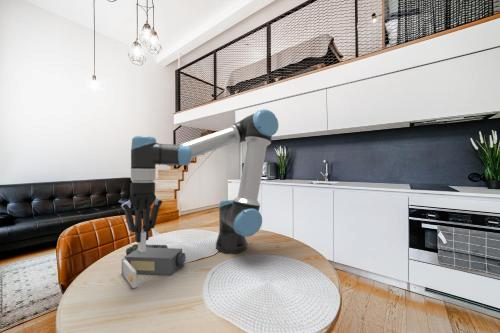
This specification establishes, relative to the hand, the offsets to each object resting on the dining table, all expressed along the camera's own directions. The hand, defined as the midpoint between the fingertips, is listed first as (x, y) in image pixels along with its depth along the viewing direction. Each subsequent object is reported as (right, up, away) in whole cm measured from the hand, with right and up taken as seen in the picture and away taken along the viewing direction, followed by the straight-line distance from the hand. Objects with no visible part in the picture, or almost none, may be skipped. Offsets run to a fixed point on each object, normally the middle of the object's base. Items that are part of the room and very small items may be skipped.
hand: (141, 250), depth 69 cm
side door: (-5, -10, 0) cm, 11 cm away
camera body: (+1, -11, +9) cm, 14 cm away
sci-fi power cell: (-8, -11, +19) cm, 24 cm away
